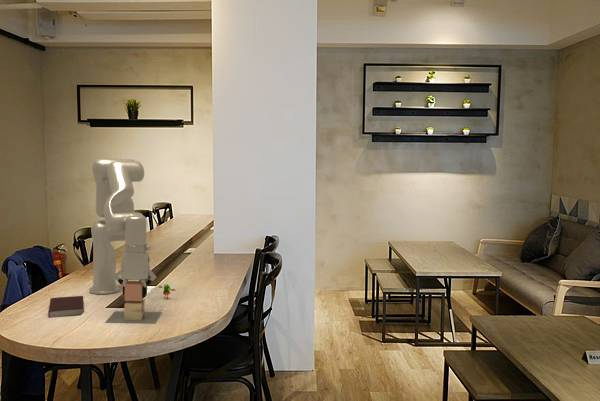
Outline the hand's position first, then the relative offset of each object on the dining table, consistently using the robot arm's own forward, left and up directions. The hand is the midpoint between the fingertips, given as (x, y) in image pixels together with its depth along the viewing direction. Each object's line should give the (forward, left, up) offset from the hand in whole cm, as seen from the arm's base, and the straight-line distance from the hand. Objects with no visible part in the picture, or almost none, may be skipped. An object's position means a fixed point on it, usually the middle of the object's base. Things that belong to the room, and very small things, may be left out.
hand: (134, 296), depth 201 cm
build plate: (0, 0, -9) cm, 9 cm away
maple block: (0, 0, -8) cm, 8 cm away
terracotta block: (0, 0, -1) cm, 1 cm away
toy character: (-30, +7, -10) cm, 32 cm away
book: (-12, -29, -10) cm, 33 cm away
